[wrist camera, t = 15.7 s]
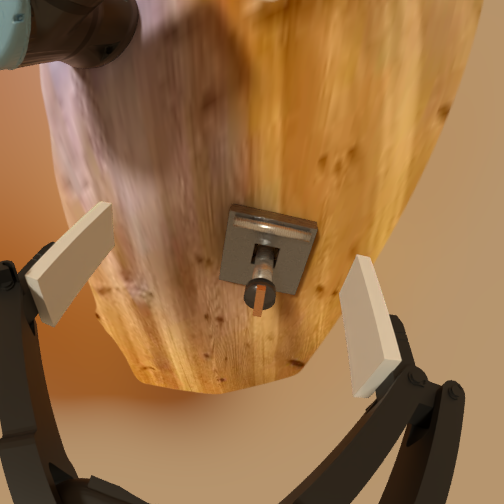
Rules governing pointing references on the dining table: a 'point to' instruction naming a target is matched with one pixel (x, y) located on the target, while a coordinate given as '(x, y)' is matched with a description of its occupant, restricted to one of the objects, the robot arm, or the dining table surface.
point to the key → (261, 281)
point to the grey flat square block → (270, 234)
